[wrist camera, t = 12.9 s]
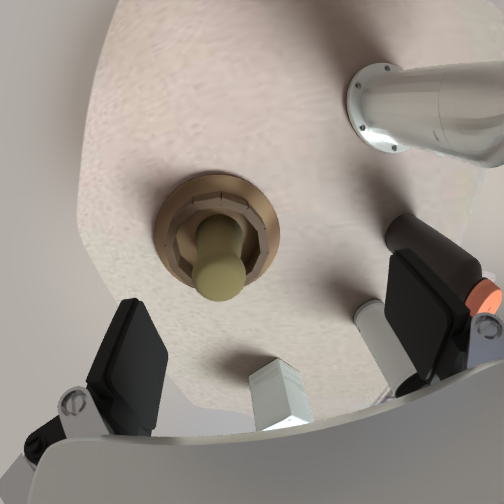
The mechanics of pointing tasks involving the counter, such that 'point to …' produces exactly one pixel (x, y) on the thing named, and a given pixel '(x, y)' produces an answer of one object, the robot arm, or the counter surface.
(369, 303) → the travel mug
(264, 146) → the counter surface
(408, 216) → the bottle
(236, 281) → the olive knobbed pestle
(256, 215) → the collar stand
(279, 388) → the supplement box
